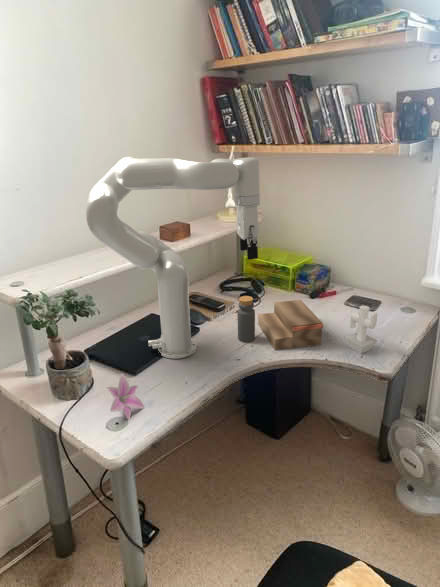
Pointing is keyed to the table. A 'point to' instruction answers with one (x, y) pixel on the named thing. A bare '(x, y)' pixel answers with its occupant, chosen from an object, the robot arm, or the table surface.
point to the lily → (125, 397)
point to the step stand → (291, 325)
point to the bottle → (246, 319)
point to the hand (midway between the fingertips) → (248, 254)
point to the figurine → (362, 330)
